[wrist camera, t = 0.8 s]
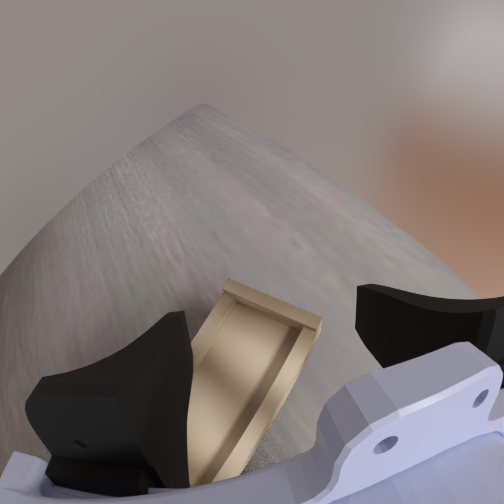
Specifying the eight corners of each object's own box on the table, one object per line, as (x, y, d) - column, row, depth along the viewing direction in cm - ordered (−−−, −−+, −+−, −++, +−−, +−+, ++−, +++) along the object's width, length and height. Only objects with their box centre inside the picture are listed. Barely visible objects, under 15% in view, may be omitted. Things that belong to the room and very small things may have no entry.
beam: (149, 593, 10) (128, 606, 7) (80, 537, 14) (54, 542, 11) (324, 336, 24) (327, 319, 21) (235, 298, 27) (224, 276, 24)
